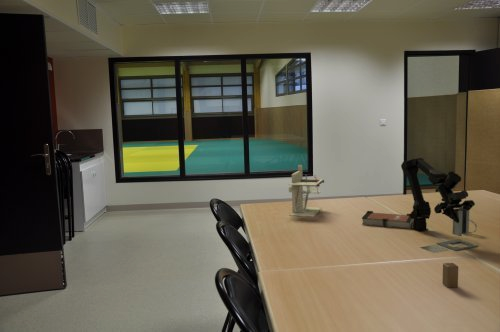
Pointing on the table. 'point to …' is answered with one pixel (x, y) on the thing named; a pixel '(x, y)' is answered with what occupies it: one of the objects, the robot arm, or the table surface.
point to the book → (387, 220)
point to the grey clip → (461, 222)
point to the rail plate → (449, 245)
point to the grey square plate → (434, 248)
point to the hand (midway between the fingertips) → (462, 221)
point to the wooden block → (450, 275)
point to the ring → (475, 225)
